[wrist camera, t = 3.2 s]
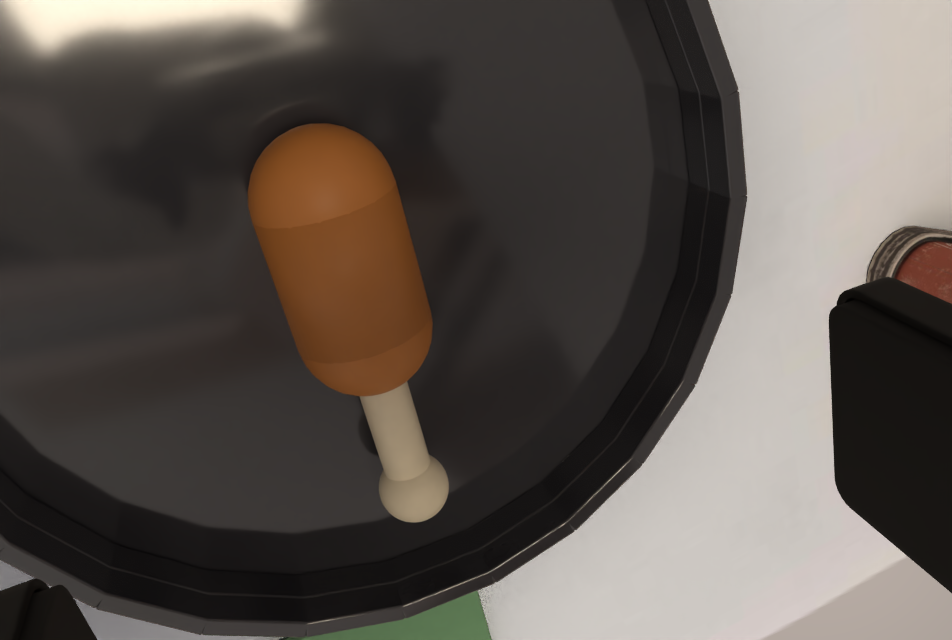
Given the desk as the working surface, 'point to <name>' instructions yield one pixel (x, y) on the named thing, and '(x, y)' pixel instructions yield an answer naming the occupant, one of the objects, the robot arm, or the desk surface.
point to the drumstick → (352, 291)
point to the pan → (262, 316)
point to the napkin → (425, 625)
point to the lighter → (917, 260)
